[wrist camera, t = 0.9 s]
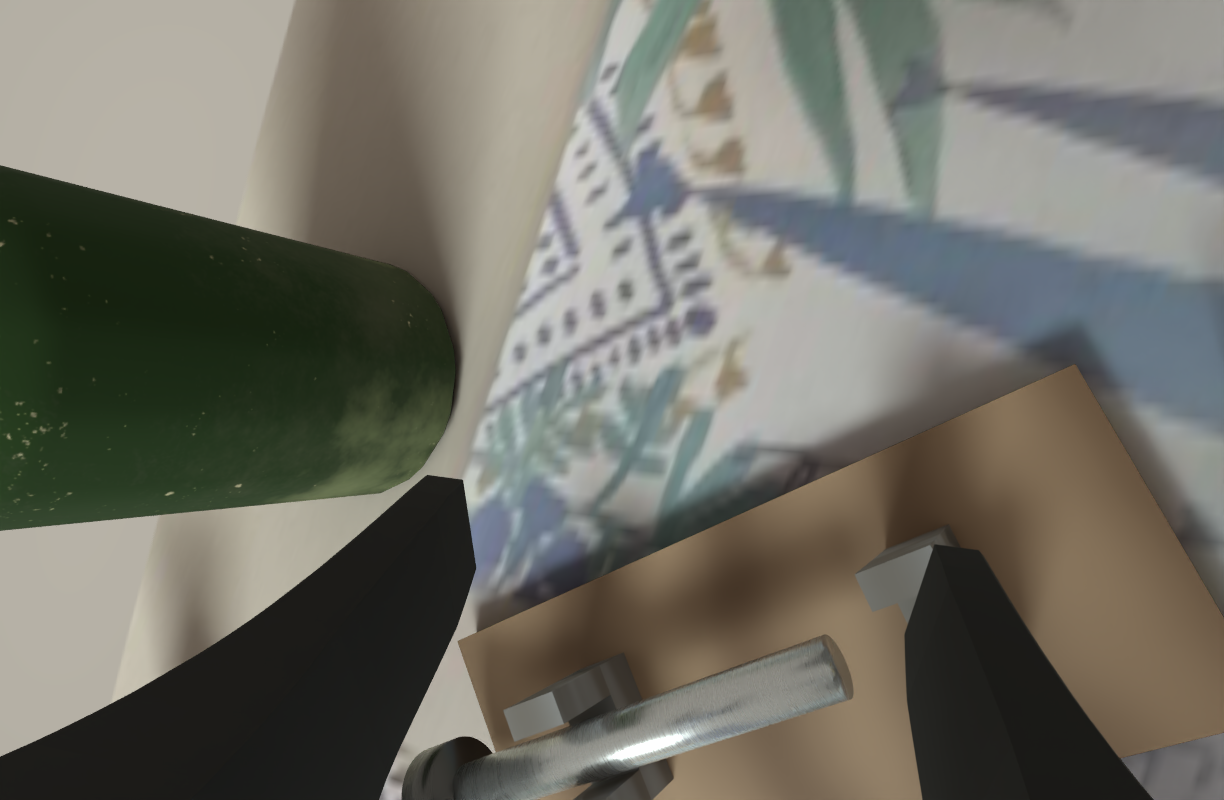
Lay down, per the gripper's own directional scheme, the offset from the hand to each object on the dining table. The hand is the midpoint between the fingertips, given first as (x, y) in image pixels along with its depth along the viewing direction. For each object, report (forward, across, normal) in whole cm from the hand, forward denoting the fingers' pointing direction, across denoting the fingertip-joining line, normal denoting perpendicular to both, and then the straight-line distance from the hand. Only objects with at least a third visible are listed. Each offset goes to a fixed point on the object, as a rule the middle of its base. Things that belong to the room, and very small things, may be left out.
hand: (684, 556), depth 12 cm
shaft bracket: (+9, -3, +14) cm, 17 cm away
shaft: (+7, +2, +15) cm, 17 cm away
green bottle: (+19, +16, +11) cm, 27 cm away
